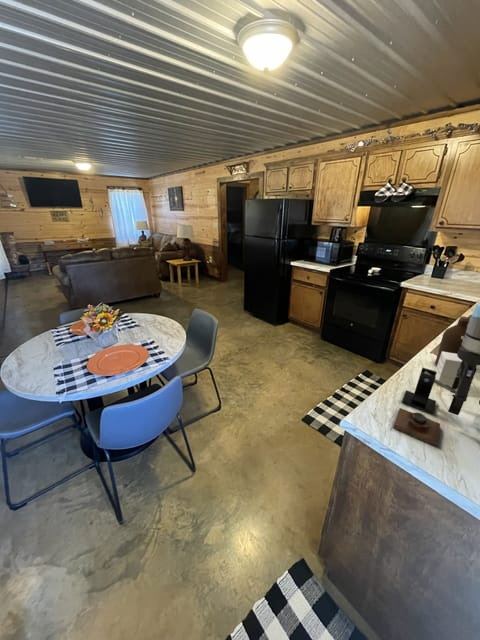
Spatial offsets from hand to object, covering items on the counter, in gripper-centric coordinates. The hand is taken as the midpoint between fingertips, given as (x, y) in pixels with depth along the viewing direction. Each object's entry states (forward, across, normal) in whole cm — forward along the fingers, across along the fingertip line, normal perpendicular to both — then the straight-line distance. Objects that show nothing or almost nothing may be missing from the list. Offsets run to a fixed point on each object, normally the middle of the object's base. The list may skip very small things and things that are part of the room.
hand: (453, 402), depth 92 cm
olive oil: (+5, -39, -2) cm, 39 cm away
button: (+2, +15, -8) cm, 17 cm away
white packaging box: (+5, -23, -2) cm, 24 cm away
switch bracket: (+5, 0, -9) cm, 11 cm away
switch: (-4, 0, -5) cm, 7 cm away
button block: (+5, +15, -8) cm, 18 cm away
